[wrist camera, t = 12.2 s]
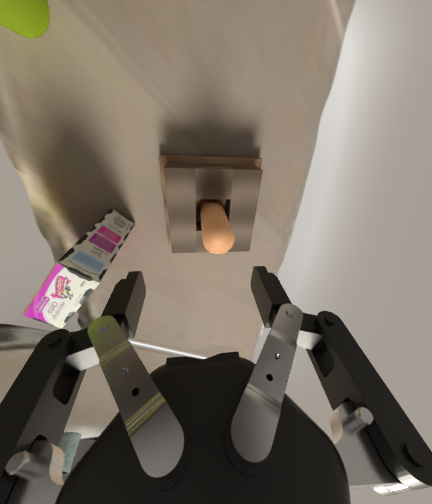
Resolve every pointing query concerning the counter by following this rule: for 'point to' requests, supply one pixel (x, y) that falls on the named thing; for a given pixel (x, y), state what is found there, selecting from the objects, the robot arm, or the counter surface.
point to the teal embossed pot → (69, 449)
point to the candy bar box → (79, 271)
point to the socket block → (209, 197)
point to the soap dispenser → (25, 16)
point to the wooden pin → (215, 227)
